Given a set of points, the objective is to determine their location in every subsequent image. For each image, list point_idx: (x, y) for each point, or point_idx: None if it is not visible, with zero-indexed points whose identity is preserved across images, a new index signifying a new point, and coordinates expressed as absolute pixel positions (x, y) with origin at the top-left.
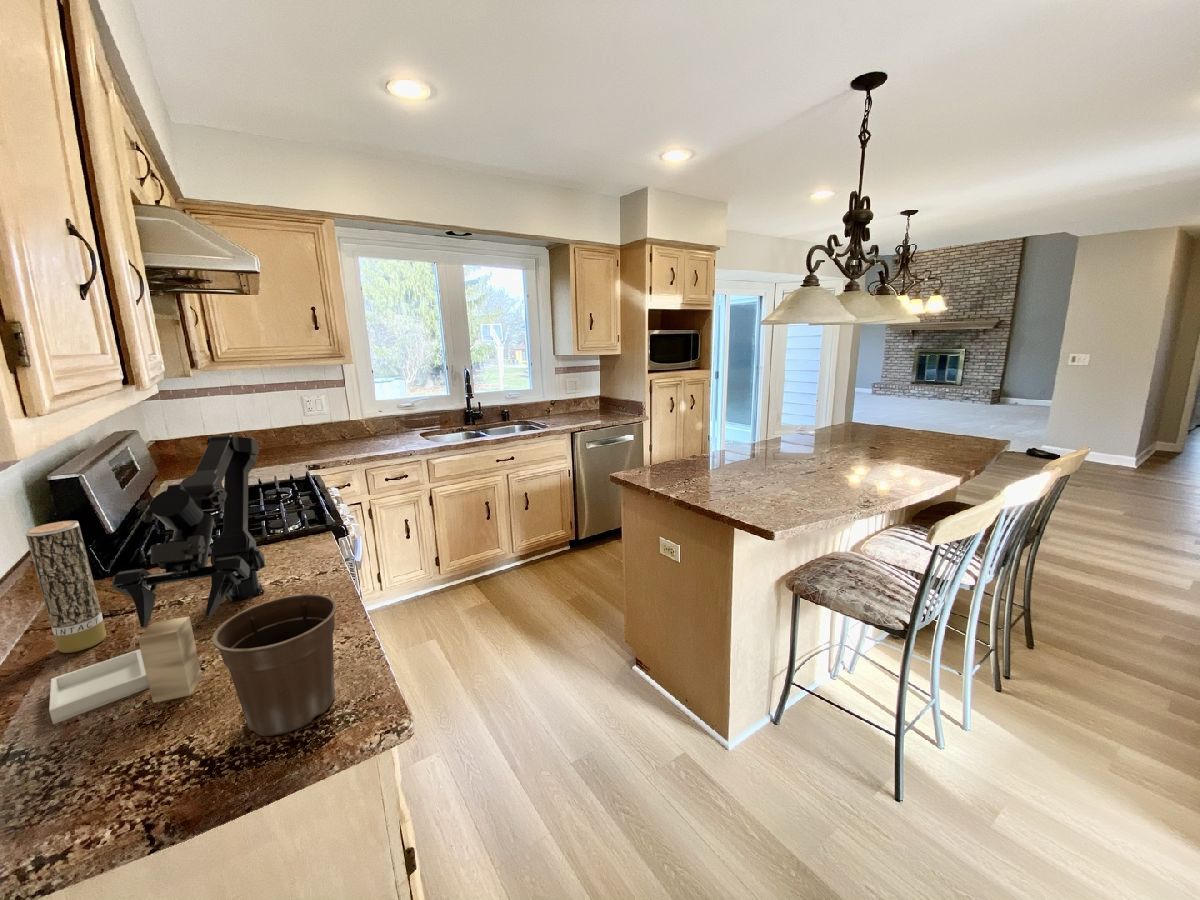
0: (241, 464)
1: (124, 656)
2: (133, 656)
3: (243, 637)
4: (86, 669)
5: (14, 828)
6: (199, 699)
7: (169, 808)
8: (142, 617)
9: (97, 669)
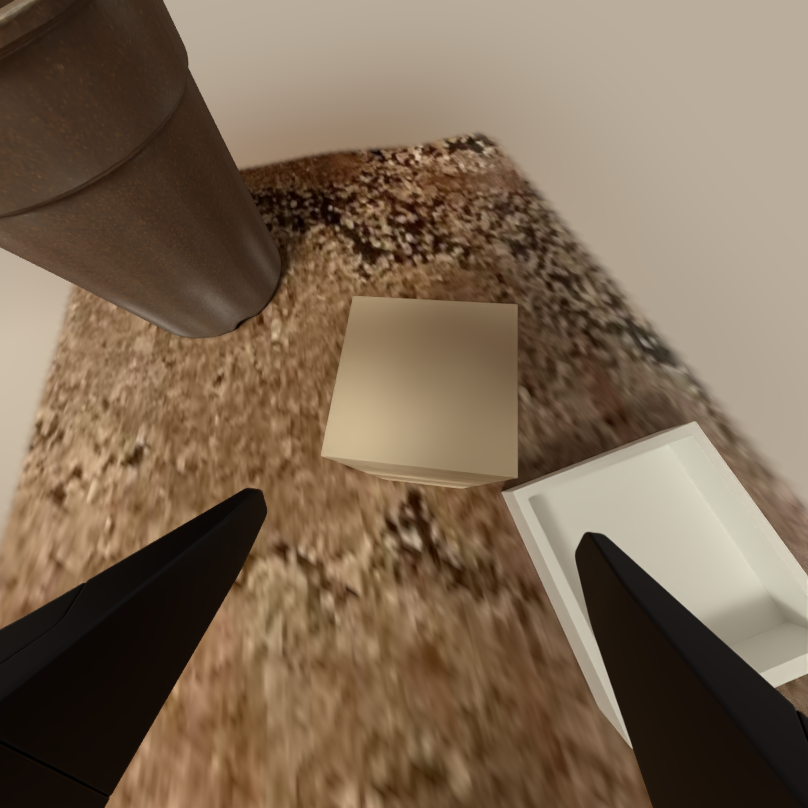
0: None
1: None
2: None
3: (121, 154)
4: (762, 666)
5: (537, 195)
6: None
7: (361, 165)
8: (635, 581)
9: None
